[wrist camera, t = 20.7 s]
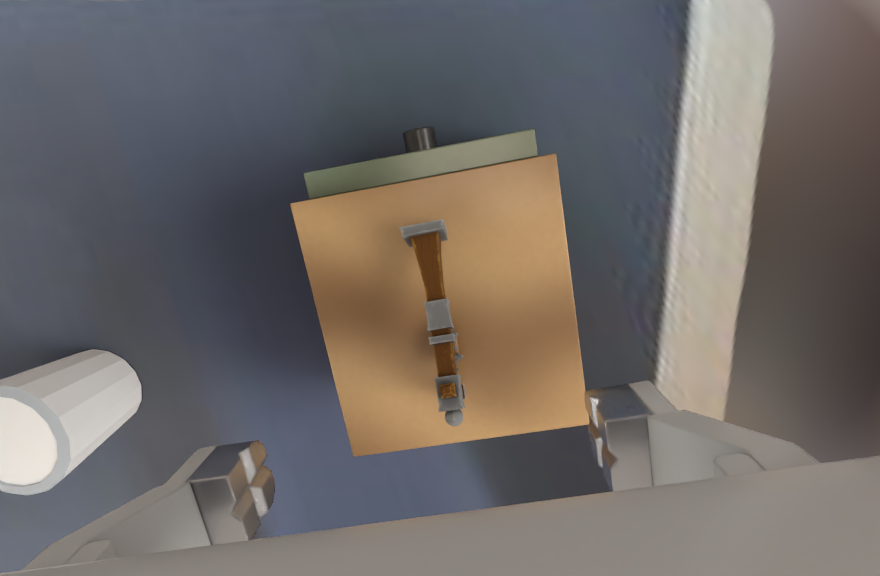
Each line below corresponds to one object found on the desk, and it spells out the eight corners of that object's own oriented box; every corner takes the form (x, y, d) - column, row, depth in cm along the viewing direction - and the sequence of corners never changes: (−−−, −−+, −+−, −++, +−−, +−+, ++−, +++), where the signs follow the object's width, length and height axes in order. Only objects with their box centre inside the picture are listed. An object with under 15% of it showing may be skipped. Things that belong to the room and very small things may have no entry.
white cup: (158, 359, 32) (77, 408, 25) (142, 443, 34) (61, 511, 27) (60, 327, 32) (-49, 368, 25) (48, 414, 34) (-57, 475, 27)
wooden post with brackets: (443, 420, 22) (429, 432, 17) (416, 254, 23) (397, 225, 19) (482, 414, 21) (478, 425, 17) (453, 247, 23) (442, 217, 19)
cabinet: (339, 195, 29) (289, 203, 21) (528, 159, 28) (556, 153, 20) (382, 382, 32) (353, 457, 23) (555, 356, 31) (589, 424, 22)
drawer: (336, 152, 28) (296, 145, 21) (514, 117, 27) (530, 98, 20) (381, 354, 30) (358, 404, 24) (543, 329, 29) (567, 374, 23)
